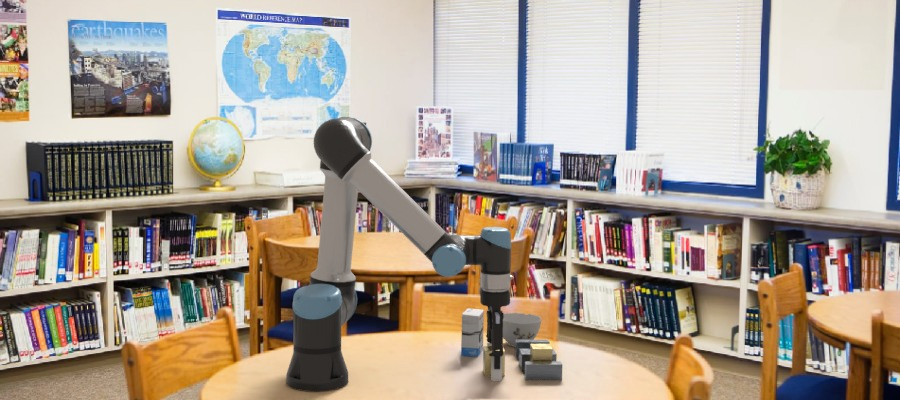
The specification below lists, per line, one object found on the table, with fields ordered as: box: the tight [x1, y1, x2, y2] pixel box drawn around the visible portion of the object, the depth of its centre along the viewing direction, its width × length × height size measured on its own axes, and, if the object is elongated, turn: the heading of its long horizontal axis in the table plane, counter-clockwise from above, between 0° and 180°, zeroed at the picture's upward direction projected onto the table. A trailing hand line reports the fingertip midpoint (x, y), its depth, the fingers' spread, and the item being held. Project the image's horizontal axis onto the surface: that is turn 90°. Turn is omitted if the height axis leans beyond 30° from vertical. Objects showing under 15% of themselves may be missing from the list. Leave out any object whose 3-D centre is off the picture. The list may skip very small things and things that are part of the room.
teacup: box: [503, 312, 542, 347], centre depth 282 cm, size 15×12×8 cm
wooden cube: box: [530, 343, 554, 361], centre depth 252 cm, size 5×5×7 cm
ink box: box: [460, 308, 485, 358], centre depth 270 cm, size 8×5×12 cm, turn 168°
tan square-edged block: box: [482, 345, 506, 377], centre depth 251 cm, size 5×5×7 cm
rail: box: [514, 339, 563, 381], centre depth 258 cm, size 9×24×4 cm, turn 3°
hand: (494, 374), depth 252 cm, fingers open, 11 cm apart
